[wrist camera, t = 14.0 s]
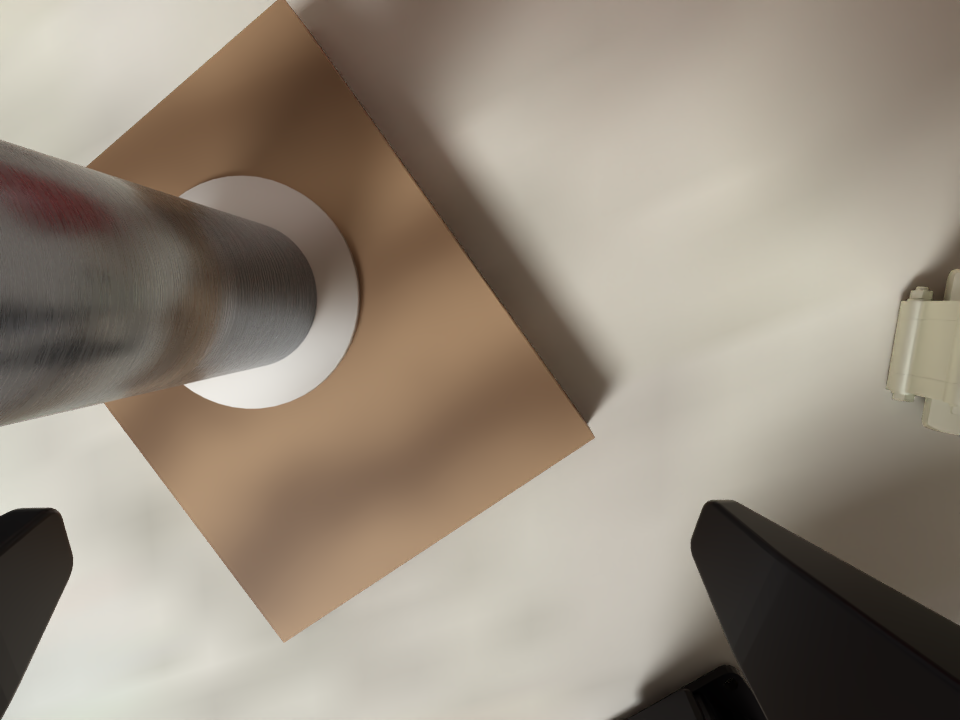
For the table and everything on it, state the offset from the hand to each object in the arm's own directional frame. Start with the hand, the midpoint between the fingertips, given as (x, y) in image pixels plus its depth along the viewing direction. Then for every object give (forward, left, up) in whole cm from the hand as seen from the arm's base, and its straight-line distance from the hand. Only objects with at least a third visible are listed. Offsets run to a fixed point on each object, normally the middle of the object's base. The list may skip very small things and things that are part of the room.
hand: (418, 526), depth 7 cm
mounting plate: (+6, +5, -12) cm, 14 cm away
